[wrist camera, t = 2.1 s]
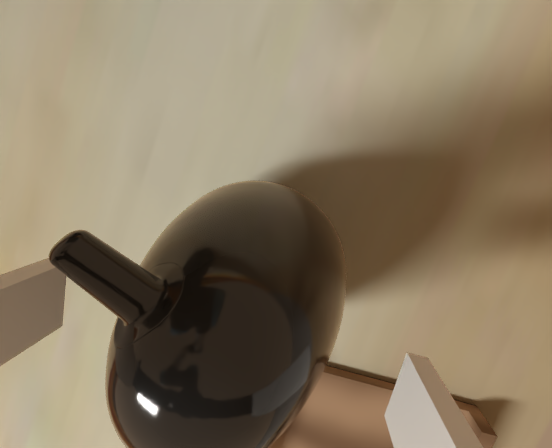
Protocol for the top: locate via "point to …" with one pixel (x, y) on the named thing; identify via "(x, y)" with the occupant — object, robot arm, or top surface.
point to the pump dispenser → (217, 317)
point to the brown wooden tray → (356, 415)
